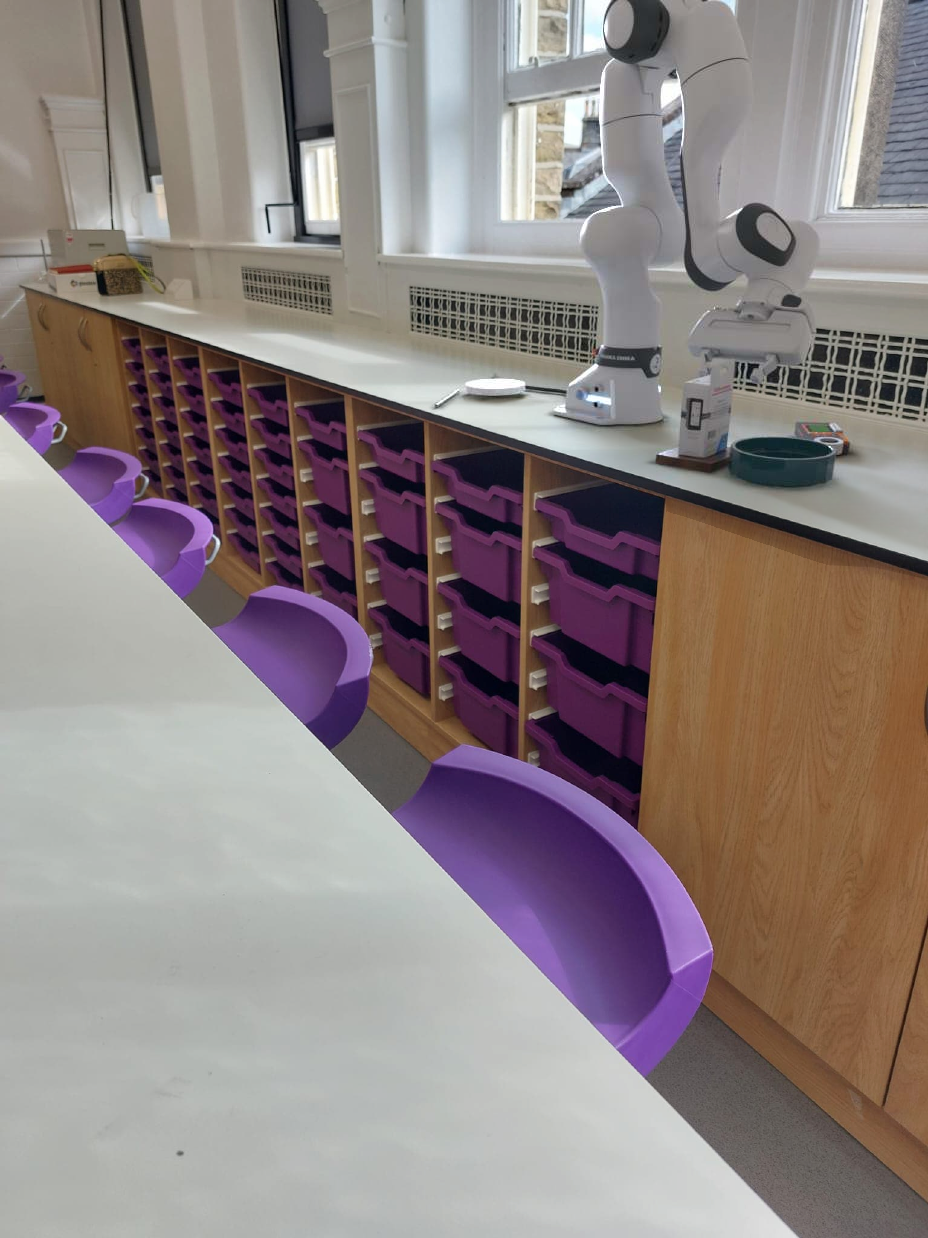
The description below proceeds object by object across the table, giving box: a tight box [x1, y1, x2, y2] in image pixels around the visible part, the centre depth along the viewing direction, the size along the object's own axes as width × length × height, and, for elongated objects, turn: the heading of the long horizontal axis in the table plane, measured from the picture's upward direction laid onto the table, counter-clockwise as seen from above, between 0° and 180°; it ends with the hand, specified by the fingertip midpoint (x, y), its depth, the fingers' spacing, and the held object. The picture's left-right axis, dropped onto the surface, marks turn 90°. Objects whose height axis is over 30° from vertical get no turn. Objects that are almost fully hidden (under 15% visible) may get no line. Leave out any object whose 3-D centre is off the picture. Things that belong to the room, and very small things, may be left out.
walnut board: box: [655, 446, 731, 474], centre depth 145 cm, size 10×12×2 cm
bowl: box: [727, 436, 837, 489], centre depth 135 cm, size 15×15×4 cm
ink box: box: [677, 359, 736, 458], centre depth 141 cm, size 8×5×15 cm, turn 140°
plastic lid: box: [464, 378, 526, 397], centre depth 204 cm, size 14×14×2 cm
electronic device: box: [793, 421, 851, 456], centre depth 152 cm, size 7×3×15 cm
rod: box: [434, 389, 460, 408], centre depth 199 cm, size 1×19×1 cm, turn 166°
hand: (728, 377), depth 145 cm, fingers open, 8 cm apart
